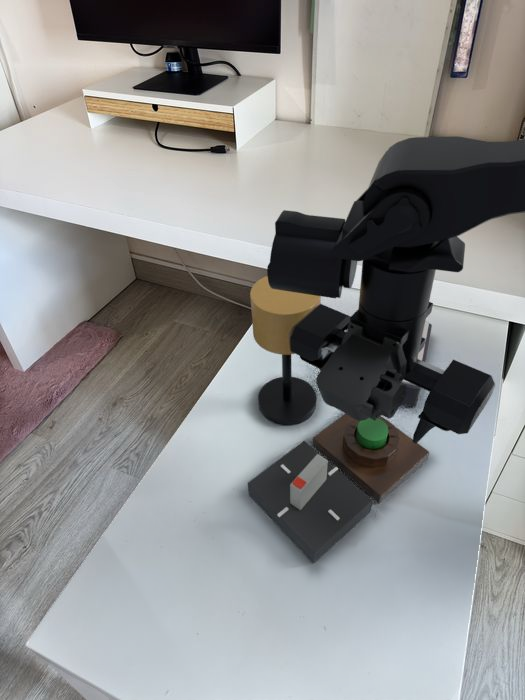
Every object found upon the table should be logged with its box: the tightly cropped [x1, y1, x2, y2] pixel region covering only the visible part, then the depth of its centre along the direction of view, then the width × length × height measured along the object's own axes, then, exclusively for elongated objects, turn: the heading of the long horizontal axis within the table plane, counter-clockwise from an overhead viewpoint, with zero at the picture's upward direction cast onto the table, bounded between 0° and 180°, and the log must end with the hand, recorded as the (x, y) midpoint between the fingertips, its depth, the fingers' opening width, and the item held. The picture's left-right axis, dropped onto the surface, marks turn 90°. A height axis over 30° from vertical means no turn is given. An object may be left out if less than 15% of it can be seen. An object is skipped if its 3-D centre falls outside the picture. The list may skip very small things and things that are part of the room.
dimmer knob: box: [290, 453, 329, 510], centre depth 55 cm, size 5×1×4 cm, turn 140°
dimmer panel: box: [246, 440, 374, 564], centre depth 58 cm, size 11×9×3 cm
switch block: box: [312, 413, 431, 504], centre depth 62 cm, size 11×9×4 cm
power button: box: [356, 418, 388, 450], centre depth 60 cm, size 4×4×2 cm
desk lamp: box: [249, 275, 322, 427], centre depth 63 cm, size 8×8×19 cm
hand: (376, 419), depth 53 cm, fingers open, 9 cm apart
